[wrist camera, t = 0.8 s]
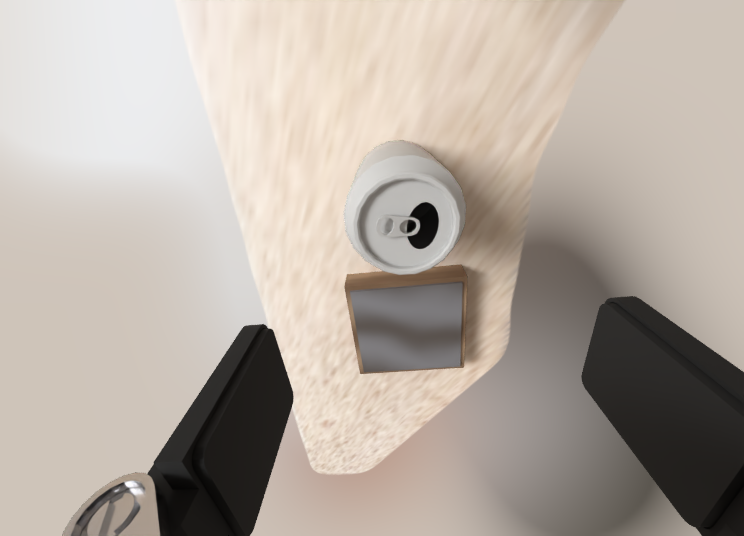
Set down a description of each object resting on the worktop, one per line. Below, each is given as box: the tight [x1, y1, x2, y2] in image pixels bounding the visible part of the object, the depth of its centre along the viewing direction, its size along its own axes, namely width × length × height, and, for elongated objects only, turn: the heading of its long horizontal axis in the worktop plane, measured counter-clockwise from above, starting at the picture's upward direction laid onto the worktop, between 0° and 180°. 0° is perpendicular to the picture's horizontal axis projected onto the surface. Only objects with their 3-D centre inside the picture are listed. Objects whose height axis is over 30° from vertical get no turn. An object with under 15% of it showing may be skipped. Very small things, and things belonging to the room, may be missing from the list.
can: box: [344, 140, 466, 275], centre depth 22 cm, size 8×8×12 cm
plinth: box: [345, 265, 467, 374], centre depth 34 cm, size 12×12×3 cm
